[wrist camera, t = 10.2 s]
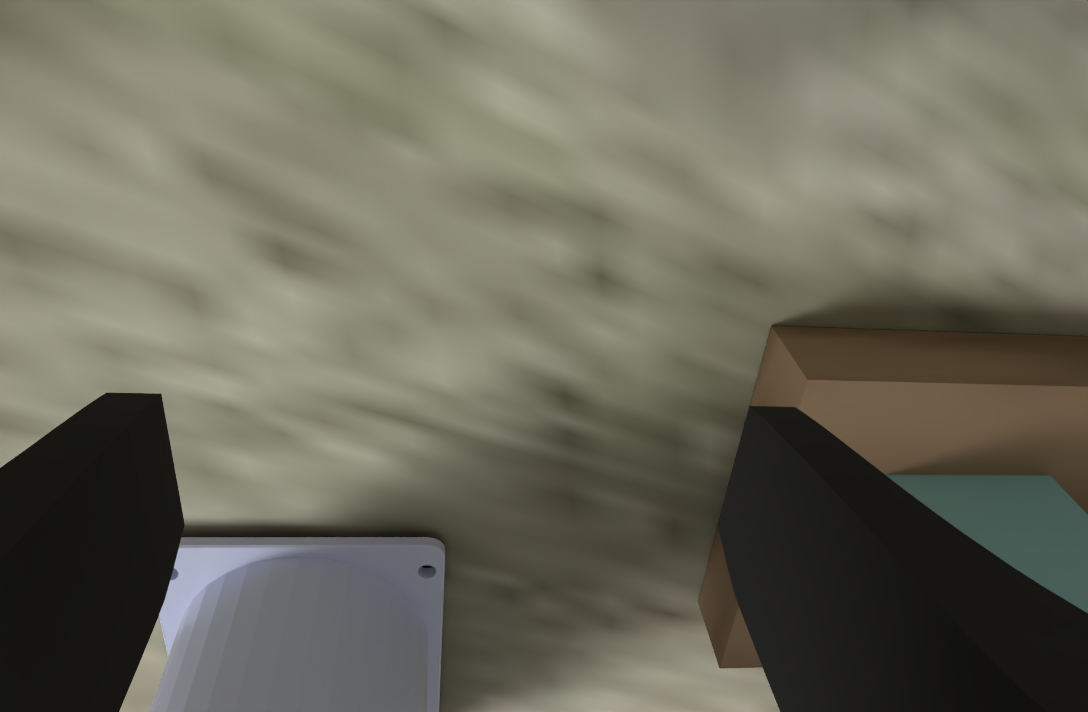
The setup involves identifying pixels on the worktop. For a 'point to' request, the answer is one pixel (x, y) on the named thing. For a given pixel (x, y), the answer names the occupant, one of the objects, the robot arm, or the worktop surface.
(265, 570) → the robot arm
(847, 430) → the walnut block
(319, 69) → the worktop surface
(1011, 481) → the teal cube
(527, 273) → the worktop surface
